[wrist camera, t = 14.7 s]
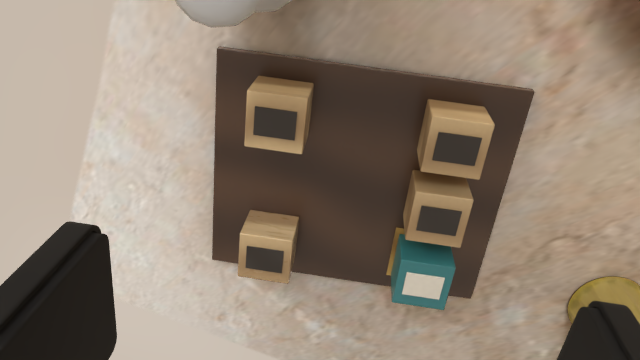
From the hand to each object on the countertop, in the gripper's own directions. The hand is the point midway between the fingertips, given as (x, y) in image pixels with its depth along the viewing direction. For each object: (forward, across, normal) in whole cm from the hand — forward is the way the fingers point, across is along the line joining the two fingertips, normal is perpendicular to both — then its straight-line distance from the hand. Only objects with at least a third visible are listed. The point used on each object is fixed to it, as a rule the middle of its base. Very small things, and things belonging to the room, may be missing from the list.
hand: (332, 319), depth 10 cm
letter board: (+28, -1, +11) cm, 30 cm away
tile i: (+28, -7, +6) cm, 29 cm away
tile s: (+28, -7, +17) cm, 33 cm away
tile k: (+28, +5, +16) cm, 33 cm away
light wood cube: (+28, +5, +6) cm, 29 cm away
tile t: (+28, -7, +11) cm, 31 cm away
